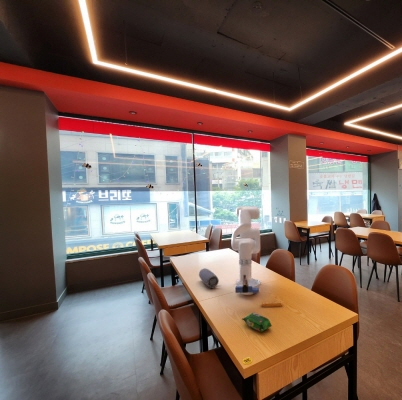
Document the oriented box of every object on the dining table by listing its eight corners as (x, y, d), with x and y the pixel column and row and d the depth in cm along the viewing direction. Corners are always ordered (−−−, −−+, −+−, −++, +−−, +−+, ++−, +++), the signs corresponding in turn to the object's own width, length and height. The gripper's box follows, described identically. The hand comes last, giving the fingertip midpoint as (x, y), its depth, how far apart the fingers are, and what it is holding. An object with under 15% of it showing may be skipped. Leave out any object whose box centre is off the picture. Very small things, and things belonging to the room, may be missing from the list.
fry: (261, 306, 137) (261, 303, 137) (261, 305, 139) (261, 302, 139) (281, 306, 137) (281, 303, 137) (281, 304, 139) (281, 301, 139)
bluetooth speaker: (219, 287, 166) (219, 274, 166) (206, 290, 161) (206, 276, 161) (209, 278, 185) (209, 266, 185) (198, 281, 180) (198, 268, 180)
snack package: (250, 318, 123) (250, 309, 123) (272, 328, 113) (272, 318, 113) (241, 324, 118) (240, 314, 118) (263, 335, 108) (263, 324, 108)
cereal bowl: (250, 286, 169) (250, 276, 169) (265, 292, 157) (265, 282, 157) (231, 293, 157) (230, 282, 157) (245, 300, 145) (245, 289, 145)
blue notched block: (235, 293, 134) (234, 288, 134) (236, 290, 139) (236, 285, 139) (258, 293, 135) (258, 287, 135) (259, 290, 139) (259, 285, 139)
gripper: (240, 258, 145) (240, 286, 145) (237, 265, 129) (237, 297, 129) (252, 257, 145) (252, 286, 145) (250, 264, 129) (250, 297, 129)
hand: (245, 291), depth 137 cm, fingers closed on blue notched block, 2 cm apart
